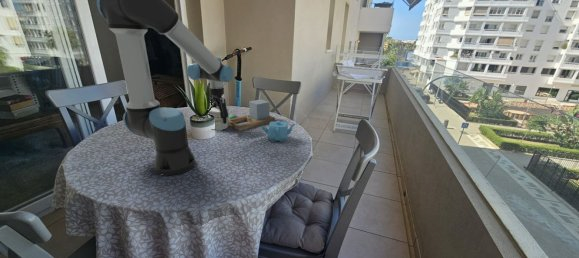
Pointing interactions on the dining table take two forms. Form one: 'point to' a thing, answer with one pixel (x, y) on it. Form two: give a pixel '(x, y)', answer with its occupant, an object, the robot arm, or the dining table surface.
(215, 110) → the white labeled carton
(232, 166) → the dining table surface
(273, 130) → the teapot
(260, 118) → the block
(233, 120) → the pallet
